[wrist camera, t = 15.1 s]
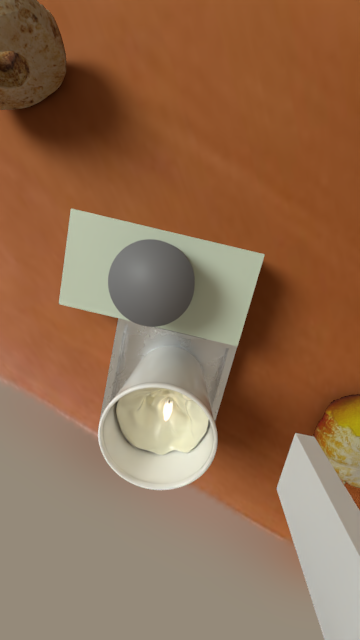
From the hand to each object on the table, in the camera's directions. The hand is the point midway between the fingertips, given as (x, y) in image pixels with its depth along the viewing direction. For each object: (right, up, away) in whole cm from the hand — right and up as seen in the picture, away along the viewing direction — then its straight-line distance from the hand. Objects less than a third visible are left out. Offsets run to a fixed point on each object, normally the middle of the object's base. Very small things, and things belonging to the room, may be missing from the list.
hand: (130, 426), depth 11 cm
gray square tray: (0, -3, +24) cm, 24 cm away
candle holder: (+1, -3, +23) cm, 23 cm away
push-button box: (0, +10, +21) cm, 23 cm away
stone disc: (-13, +28, +17) cm, 35 cm away
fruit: (+24, -9, +24) cm, 35 cm away
